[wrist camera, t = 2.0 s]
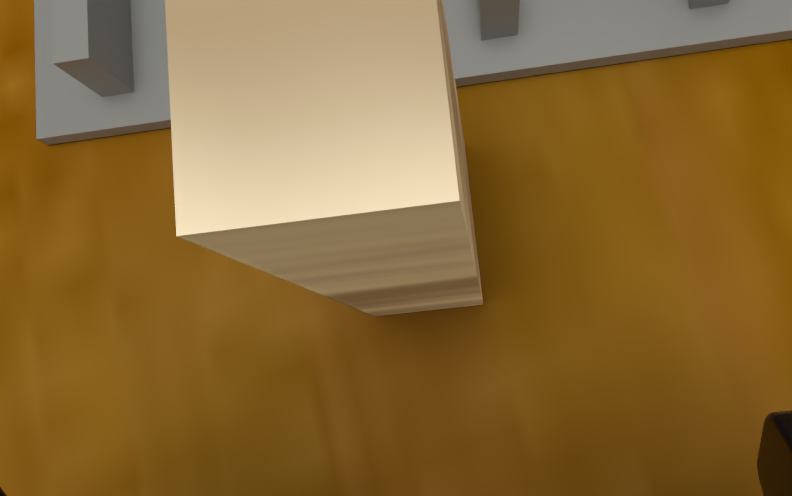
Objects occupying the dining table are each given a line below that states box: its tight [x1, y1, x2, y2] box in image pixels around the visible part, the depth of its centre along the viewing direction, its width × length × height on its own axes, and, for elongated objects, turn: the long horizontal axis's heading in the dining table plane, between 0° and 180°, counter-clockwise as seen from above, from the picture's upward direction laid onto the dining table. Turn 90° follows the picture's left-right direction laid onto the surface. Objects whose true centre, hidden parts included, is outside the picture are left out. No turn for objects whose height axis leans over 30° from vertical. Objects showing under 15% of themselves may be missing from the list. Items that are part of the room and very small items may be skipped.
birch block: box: [165, 0, 483, 316], centre depth 14 cm, size 4×3×13 cm, turn 6°
